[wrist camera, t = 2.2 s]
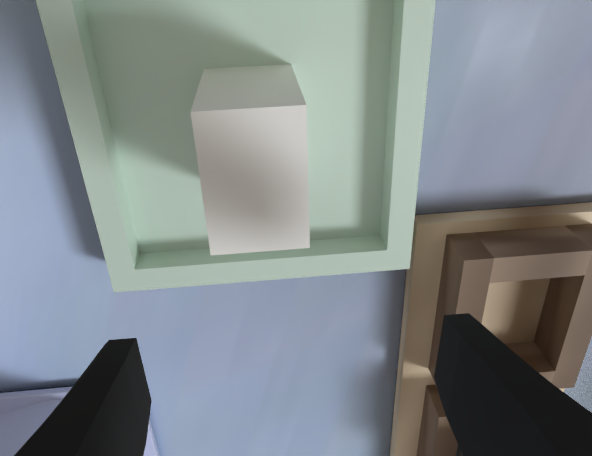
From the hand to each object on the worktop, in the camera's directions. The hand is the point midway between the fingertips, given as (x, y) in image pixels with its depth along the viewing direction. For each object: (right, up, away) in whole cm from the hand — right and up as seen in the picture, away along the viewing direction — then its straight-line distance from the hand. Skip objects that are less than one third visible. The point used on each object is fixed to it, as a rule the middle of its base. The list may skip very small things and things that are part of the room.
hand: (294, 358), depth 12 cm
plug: (-2, +7, +7) cm, 9 cm away
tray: (-2, +7, +7) cm, 10 cm away
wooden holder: (+10, -4, +14) cm, 18 cm away
